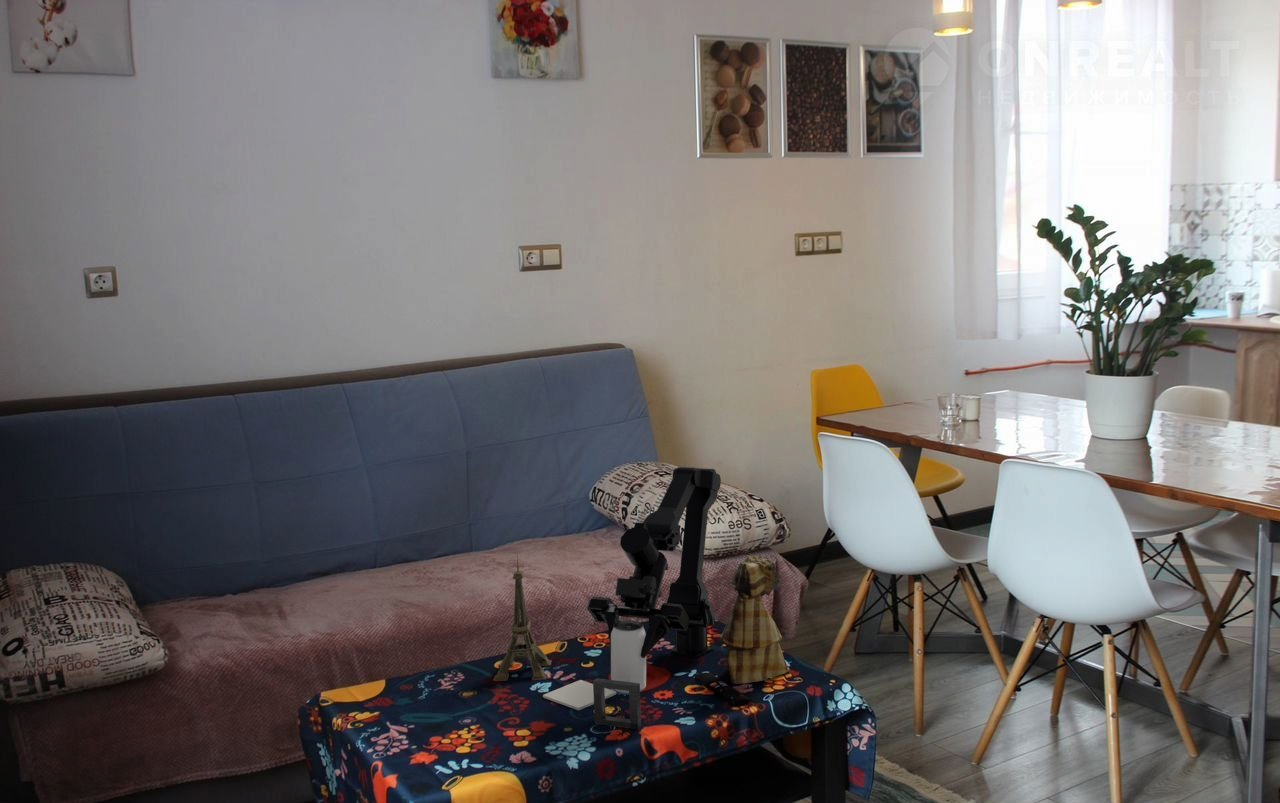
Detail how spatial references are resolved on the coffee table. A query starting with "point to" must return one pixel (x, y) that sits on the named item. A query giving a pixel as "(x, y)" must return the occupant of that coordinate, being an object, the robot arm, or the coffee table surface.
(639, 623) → the can
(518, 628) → the eiffel tower
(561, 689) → the pad
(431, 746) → the coffee table surface
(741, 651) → the plush toy
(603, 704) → the dark grey square frame
